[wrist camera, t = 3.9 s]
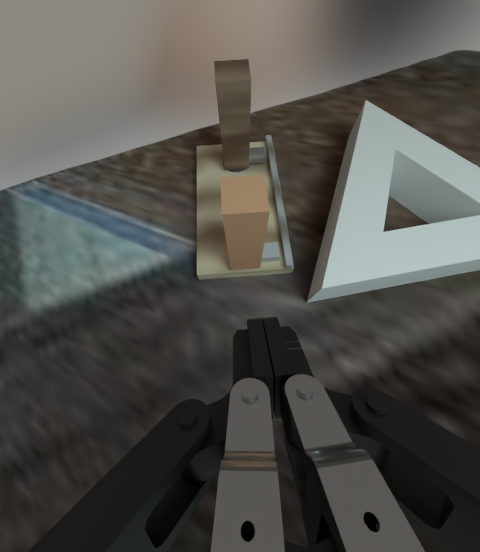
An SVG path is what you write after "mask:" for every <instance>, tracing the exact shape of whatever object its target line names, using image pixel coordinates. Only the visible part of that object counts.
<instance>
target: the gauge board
mask: <svg viewBox="0 0 480 552" xmlns="http://www.w3.org/2000/svg"><path fill="white" fill-rule="evenodd" d="M254 147H264V152H265V163H253V164H249V168H248V169H234V170H225V169H224V159H223V150H222V144H220V145H205V146H197V277H198V278H199V280H201V279H215V278H228V277H242V276H256V275H269V274H283V273H292V271H293V269H294V265H293V259H292V253H291V248H290V242H289V236H288V230H287V224H286V218H285V213H284V207H283V201H282V195H281V189H280V183H279V178H278V172H277V166H276V160H275V154H274V148H273V143H272V138H271V135H266V139H265V141H264V142H250V146H249V148H254ZM264 174H265V181H266V188H267V195H268V202H269V209H270V214H269V219H268V225H267V231H266V237H265V243H271V242H278V245H279V252H280V259H279V260H277V261H263V262H261V266H260V268H255V269H241V270H231V269H230V263H229V256H228V250H227V243H226V237H225V230H224V224H223V217H222V203H221V183H220V178H221V177H235V176H250V175H264Z"/></svg>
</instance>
